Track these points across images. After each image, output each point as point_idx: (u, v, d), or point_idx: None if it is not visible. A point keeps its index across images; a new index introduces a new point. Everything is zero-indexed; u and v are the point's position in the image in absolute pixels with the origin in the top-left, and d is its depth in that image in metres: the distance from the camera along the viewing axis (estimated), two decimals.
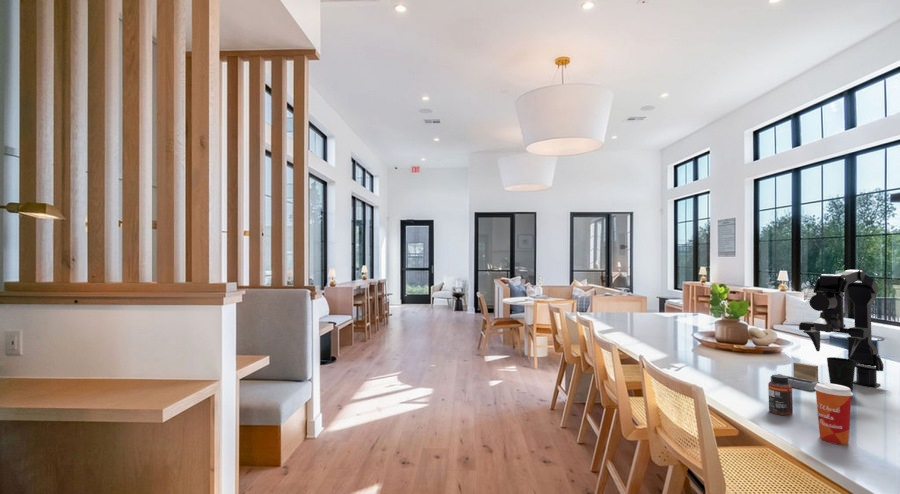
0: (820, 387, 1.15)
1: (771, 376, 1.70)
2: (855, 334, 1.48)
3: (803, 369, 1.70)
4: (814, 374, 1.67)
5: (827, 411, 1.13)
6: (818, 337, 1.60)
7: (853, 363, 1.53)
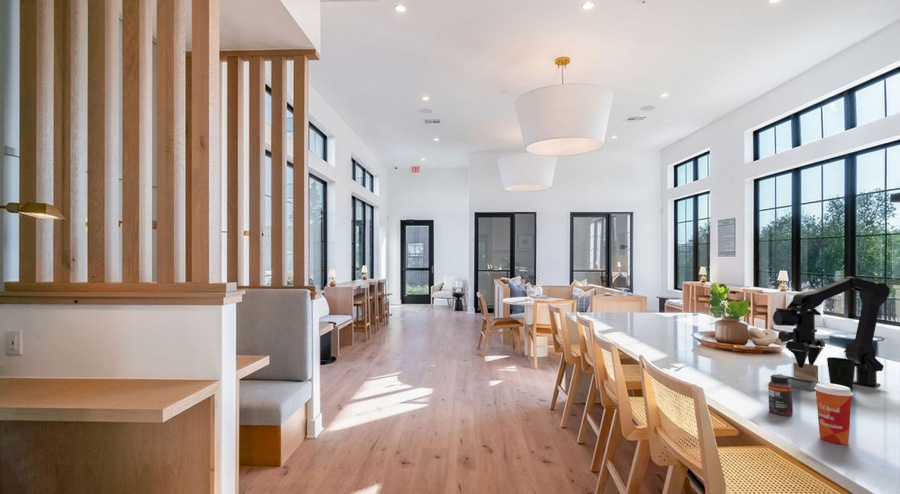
0: (820, 387, 1.15)
1: (771, 376, 1.70)
2: None
3: (803, 369, 1.70)
4: (814, 374, 1.67)
5: (827, 411, 1.13)
6: (814, 352, 1.73)
7: (853, 363, 1.53)
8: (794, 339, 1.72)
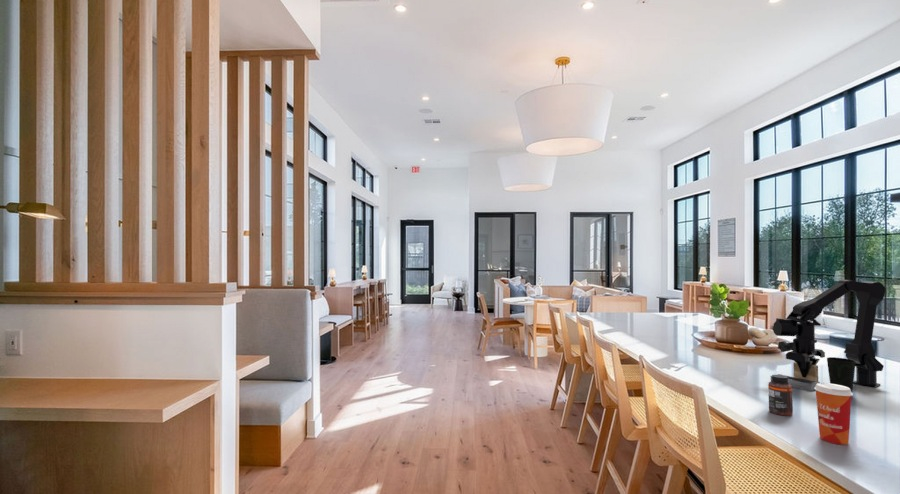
0: (820, 387, 1.15)
1: (771, 376, 1.70)
2: None
3: None
4: (814, 374, 1.67)
5: (827, 411, 1.13)
6: None
7: (853, 363, 1.53)
8: (794, 349, 1.72)
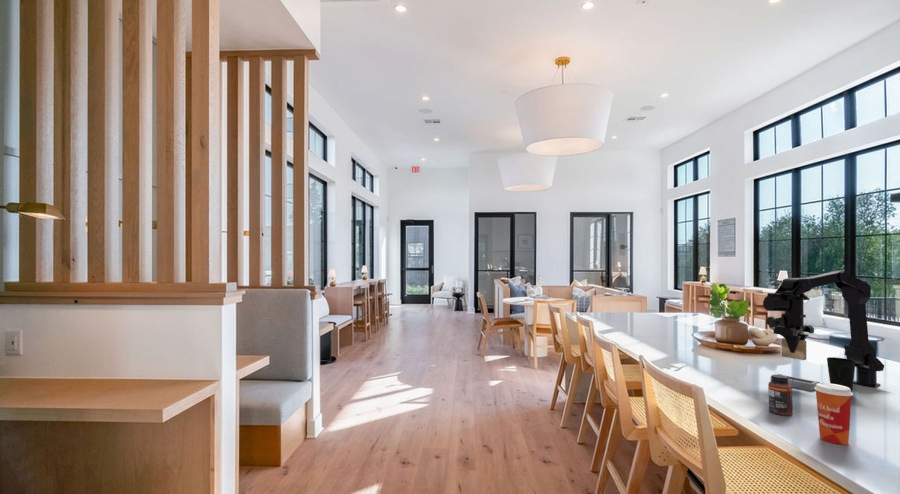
0: (820, 387, 1.15)
1: (771, 376, 1.70)
2: None
3: None
4: (802, 349, 1.63)
5: (827, 411, 1.13)
6: (799, 339, 1.67)
7: (853, 363, 1.53)
8: (782, 324, 1.68)
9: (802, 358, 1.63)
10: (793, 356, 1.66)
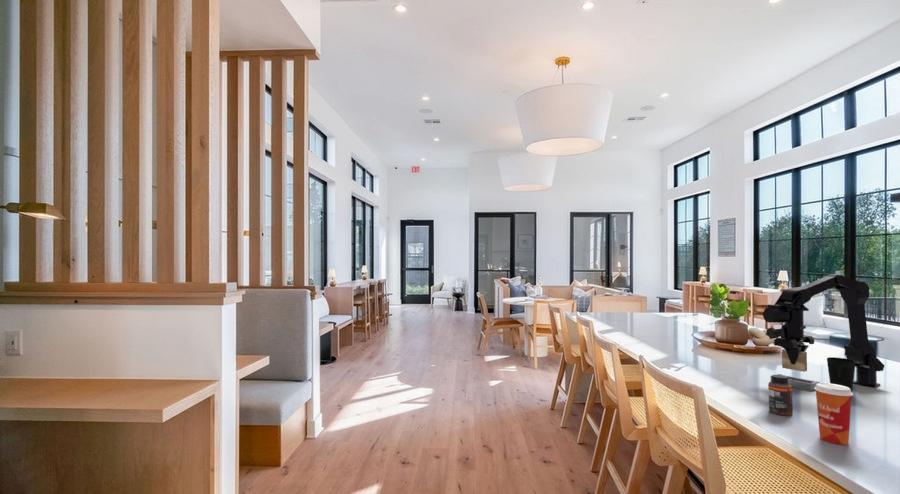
0: (820, 387, 1.15)
1: (771, 376, 1.70)
2: None
3: None
4: (803, 361, 1.63)
5: (827, 411, 1.13)
6: (799, 350, 1.66)
7: (853, 363, 1.53)
8: (782, 336, 1.67)
9: (803, 370, 1.63)
10: (794, 367, 1.65)
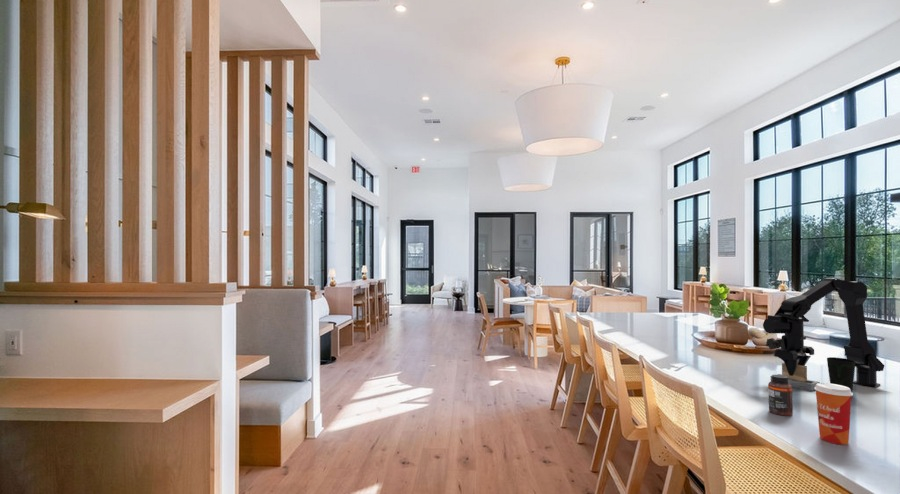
0: (820, 387, 1.15)
1: (771, 376, 1.70)
2: None
3: None
4: (803, 375, 1.63)
5: (827, 411, 1.13)
6: (801, 361, 1.67)
7: (853, 363, 1.53)
8: (782, 347, 1.67)
9: None
10: None
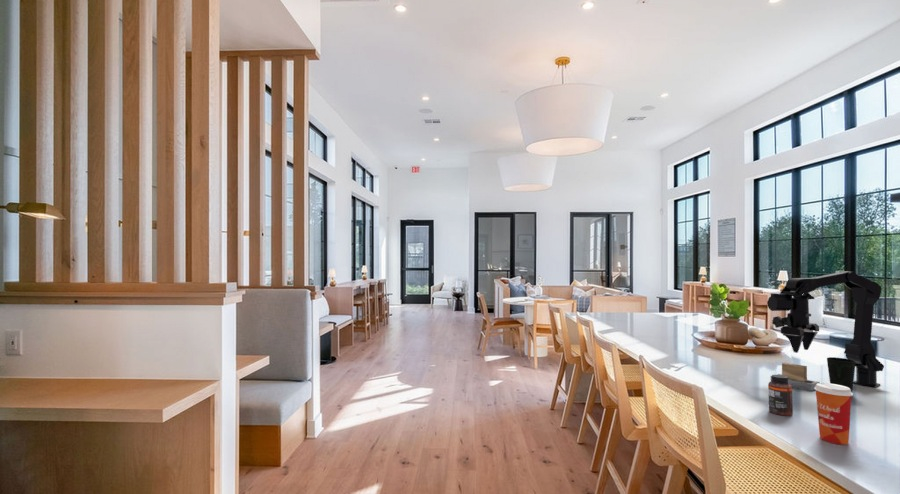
0: (820, 387, 1.15)
1: (771, 376, 1.70)
2: None
3: (792, 370, 1.66)
4: (803, 375, 1.63)
5: (827, 411, 1.13)
6: (808, 337, 1.72)
7: (853, 363, 1.53)
8: (788, 324, 1.71)
9: None
10: None
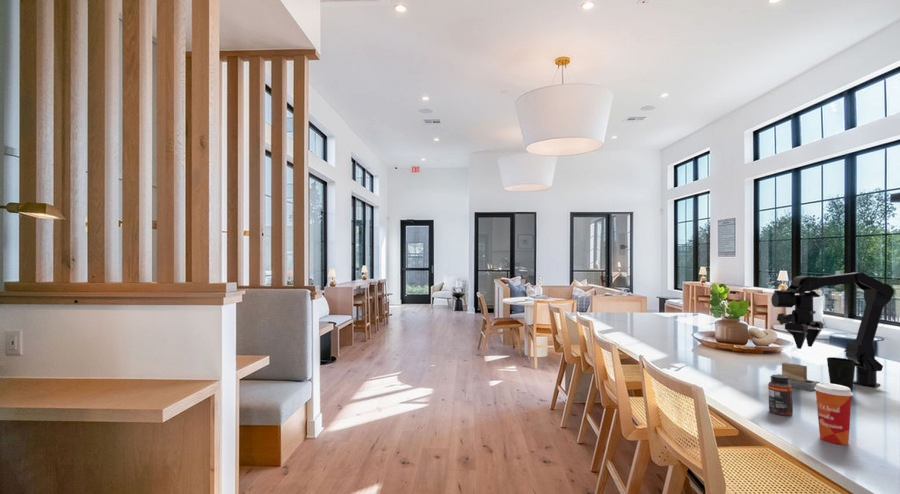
0: (820, 387, 1.15)
1: (771, 376, 1.70)
2: None
3: (792, 370, 1.66)
4: (803, 375, 1.63)
5: (827, 411, 1.13)
6: (812, 334, 1.75)
7: (853, 363, 1.53)
8: (793, 321, 1.74)
9: None
10: None
